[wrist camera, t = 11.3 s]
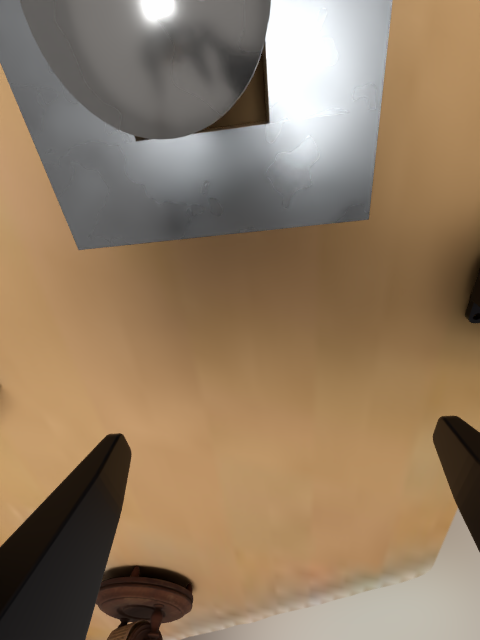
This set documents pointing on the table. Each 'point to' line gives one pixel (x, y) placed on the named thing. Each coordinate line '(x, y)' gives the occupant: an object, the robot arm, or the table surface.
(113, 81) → the silver flanged peg
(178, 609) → the brown figurine
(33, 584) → the robot arm
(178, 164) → the socket block
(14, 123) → the table surface
